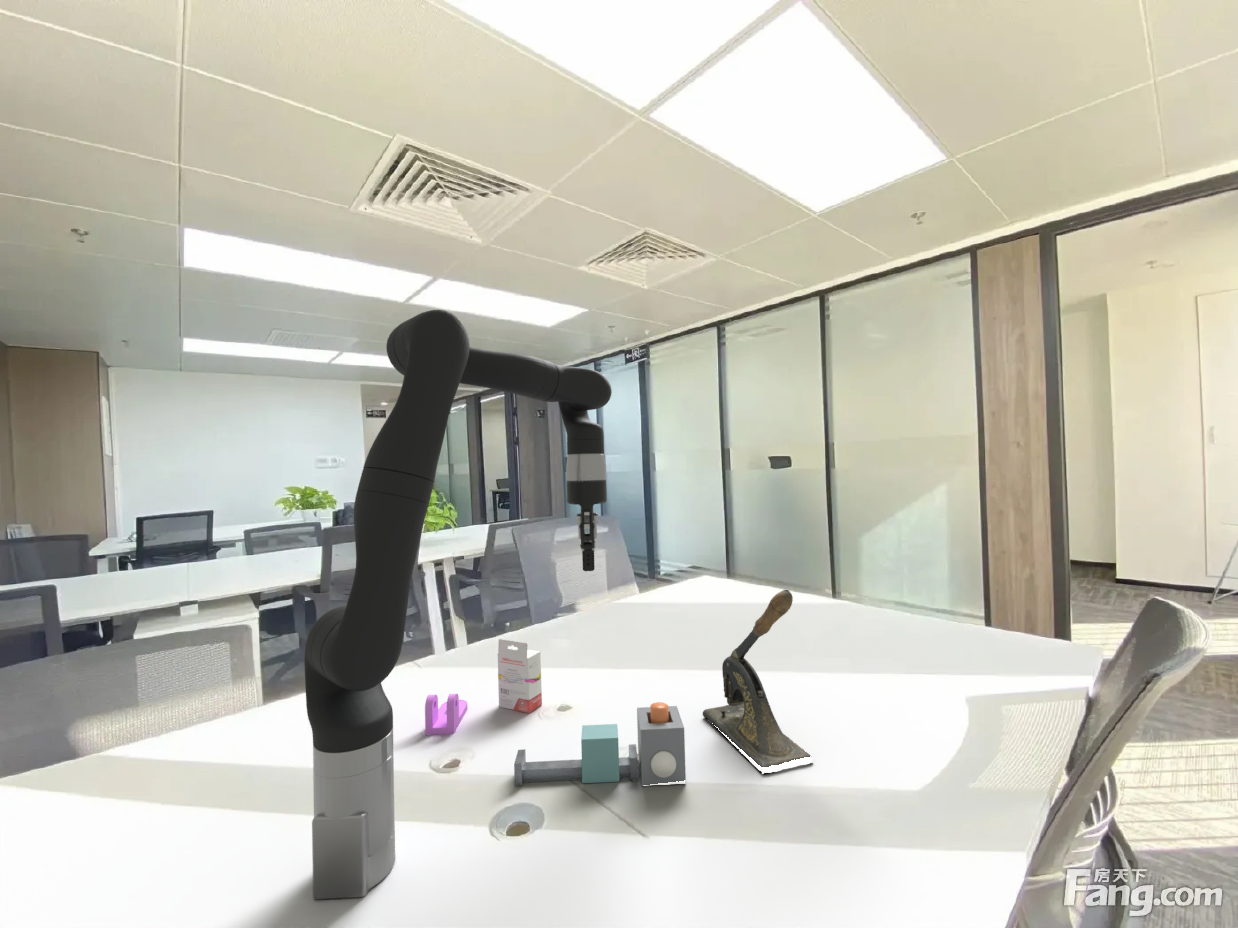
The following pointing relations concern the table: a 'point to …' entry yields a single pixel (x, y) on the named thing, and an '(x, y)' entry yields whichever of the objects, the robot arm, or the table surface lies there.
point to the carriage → (600, 753)
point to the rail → (566, 768)
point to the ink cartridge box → (519, 676)
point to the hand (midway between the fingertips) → (588, 570)
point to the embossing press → (754, 699)
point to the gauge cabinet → (661, 747)
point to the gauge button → (659, 713)
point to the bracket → (444, 714)
